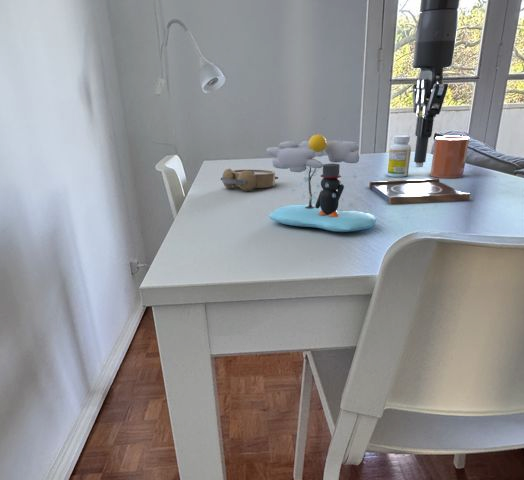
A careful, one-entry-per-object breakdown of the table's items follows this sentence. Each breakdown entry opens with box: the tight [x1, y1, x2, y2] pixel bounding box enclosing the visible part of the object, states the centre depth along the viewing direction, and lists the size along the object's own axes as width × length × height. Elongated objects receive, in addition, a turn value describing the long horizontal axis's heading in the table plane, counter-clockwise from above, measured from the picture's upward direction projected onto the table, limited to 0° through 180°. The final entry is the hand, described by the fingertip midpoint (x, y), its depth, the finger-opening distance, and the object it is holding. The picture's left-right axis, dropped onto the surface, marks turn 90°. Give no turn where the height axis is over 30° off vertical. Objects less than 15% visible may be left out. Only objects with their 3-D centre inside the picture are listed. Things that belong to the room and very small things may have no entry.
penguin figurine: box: [266, 133, 377, 233], centre depth 81 cm, size 20×11×15 cm, turn 51°
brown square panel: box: [368, 178, 471, 205], centre depth 105 cm, size 17×17×1 cm
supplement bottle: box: [387, 134, 412, 178], centre depth 123 cm, size 5×5×10 cm
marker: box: [413, 110, 430, 168], centre depth 100 cm, size 2×2×11 cm
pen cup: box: [430, 135, 470, 179], centre depth 120 cm, size 8×8×9 cm
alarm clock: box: [220, 168, 279, 192], centre depth 117 cm, size 11×5×15 cm
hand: (422, 136), depth 100 cm, fingers closed on marker, 2 cm apart
